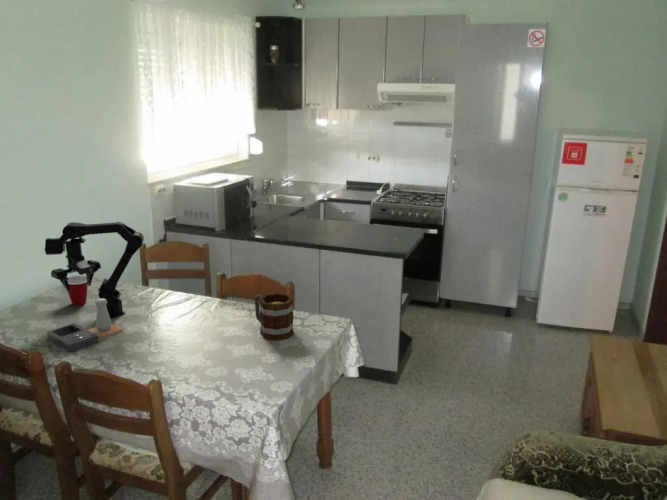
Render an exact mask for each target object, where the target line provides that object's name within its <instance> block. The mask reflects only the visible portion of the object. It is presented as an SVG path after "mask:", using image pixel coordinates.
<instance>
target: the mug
mask: <svg viewBox="0 0 667 500" xmlns="http://www.w3.org/2000/svg"><path fill="white" fill-rule="evenodd" d="M293 305H294V298H293V296H291V294H288V293H281V292H273V293H265V294H264V295H262V294H261V293H260V294H257V295H255V296H254V307H255V318H256V320H257V321H258V322H259V323H260V335H261V337H262V336H263V337H262V338H263V340H267V339H268V340H267V341H273V342H278V341H283V340H289V339H290V337H292V336H293V335H294V334H295V331H294V309H293Z"/></svg>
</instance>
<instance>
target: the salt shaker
mask: <svg viewBox="0 0 667 500" xmlns="http://www.w3.org/2000/svg"><path fill="white" fill-rule="evenodd" d="M94 304H95V306H96V317H95V318H96V319H95V327H97V328H98V330H99V331H102V332H104V331H108V330H109V329H110V327H111V323H112V319H111V318H110V317H109V314H108V311H107V307H106V304H107V300H106V299H104V298H97V299H96V300H95V302H94Z"/></svg>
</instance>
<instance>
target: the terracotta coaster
mask: <svg viewBox="0 0 667 500" xmlns="http://www.w3.org/2000/svg"><path fill="white" fill-rule="evenodd" d="M123 329H124V328H123V327H119V326H118V325H115V324H113V323H112V322H111V327H110V329H109V330H108V331H104V332H102V331H99V330H98V328H97V327H96V326H94V327H91V328H89V329H87V330H89V331H91V332H92V333H94V334H96V335H98V340H102V339H104V338H108V337H111V336H113V335H116V334H119V333H122V332H123Z"/></svg>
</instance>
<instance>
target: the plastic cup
mask: <svg viewBox="0 0 667 500" xmlns="http://www.w3.org/2000/svg"><path fill="white" fill-rule="evenodd" d="M67 277H68V285H69V292H67V294H68V297H69V299H70V302H71V304H72V306H75V307H77V306H78V307H79V306H83V305H85V304H86V303H87V296H88V287H89V286H88V283H87V277H86V275H70V276H67Z"/></svg>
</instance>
